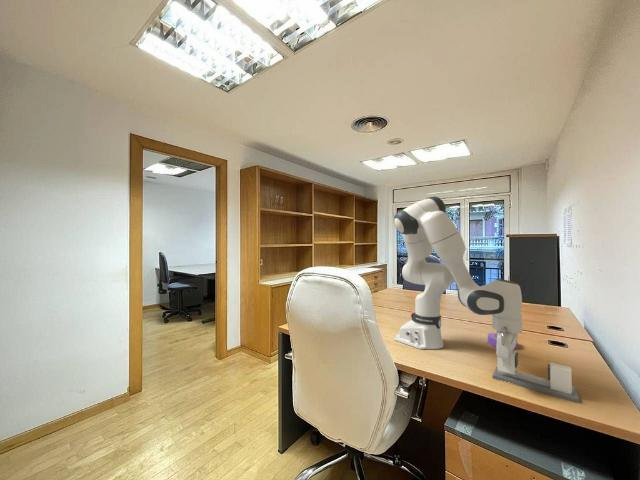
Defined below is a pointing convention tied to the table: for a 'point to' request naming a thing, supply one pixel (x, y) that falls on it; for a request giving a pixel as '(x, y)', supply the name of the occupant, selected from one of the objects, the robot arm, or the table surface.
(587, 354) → the table surface
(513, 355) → the block
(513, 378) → the rail
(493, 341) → the masking tape
